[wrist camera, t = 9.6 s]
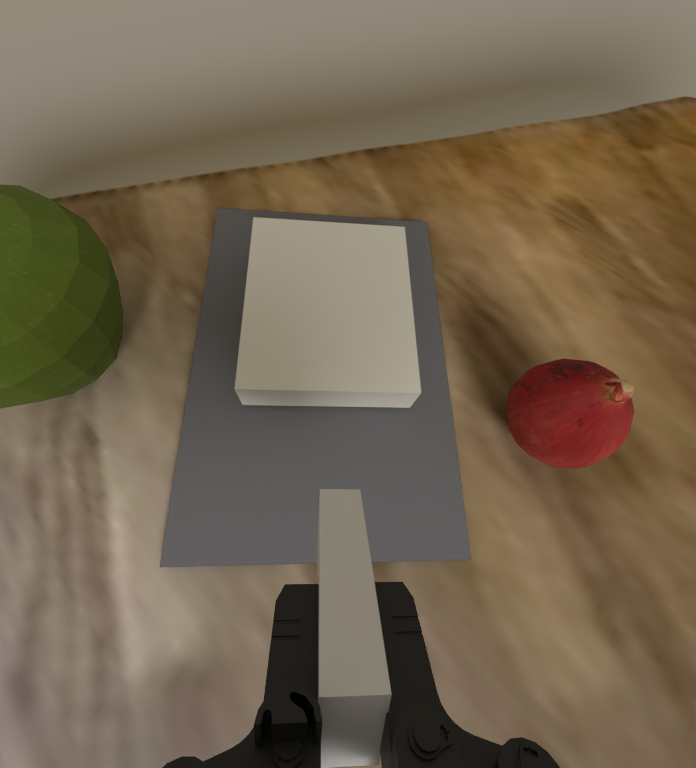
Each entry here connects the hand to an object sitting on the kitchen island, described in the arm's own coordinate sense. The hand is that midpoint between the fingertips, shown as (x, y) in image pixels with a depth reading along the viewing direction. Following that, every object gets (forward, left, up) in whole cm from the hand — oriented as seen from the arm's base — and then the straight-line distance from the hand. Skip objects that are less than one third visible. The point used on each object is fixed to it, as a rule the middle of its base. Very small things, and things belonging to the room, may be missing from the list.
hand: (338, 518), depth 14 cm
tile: (-4, -5, -5) cm, 8 cm away
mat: (-6, -8, -7) cm, 12 cm away
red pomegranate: (-13, +4, -7) cm, 16 cm away
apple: (+6, -18, -7) cm, 20 cm away
